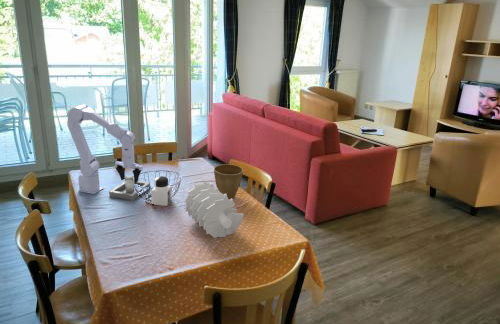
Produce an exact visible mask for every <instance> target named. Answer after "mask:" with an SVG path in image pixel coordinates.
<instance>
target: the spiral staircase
mask: <svg viewBox="0 0 500 324" xmlns="http://www.w3.org/2000/svg"><path fill="white" fill-rule="evenodd" d="M187 194H188V196H187V197H186V198H185V200H184V203H185V204H186V205H185V212H187V214H188V217H191V219H193V220H194V222H195V224H196V223H198V225H199V226H198V227H200V228H201V227H203V230H205V233H206V235H210V236H212V237H213V238H214V239H217V238H226V236H230V235H231V234H233V233H235V232H236V230H237V229H238V228H239V227H240V226H241V224H242V221H243V218H244V216H245V213H238V212H237V210H238V209H237V208H233V207H236V204H235V202H234V199H230V200H229V199H228V197H227V194H222V193H221V192H220V191H219V190H218V188H217V186H216V187H214V184H213V182H210V183H208V182H207V181H203V182H202V183H196V184H195V185H194V187H193V188H192V189H190V190H188V191H187Z"/></svg>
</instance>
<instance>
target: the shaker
mask: <svg viewBox="0 0 500 324" xmlns="http://www.w3.org/2000/svg"><path fill="white" fill-rule="evenodd" d="M124 182H125V188H126V193H133V192H135V189H134V186H133V184H134V175H125V179H124Z"/></svg>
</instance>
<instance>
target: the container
mask: <svg viewBox="0 0 500 324" xmlns="http://www.w3.org/2000/svg"><path fill="white" fill-rule="evenodd" d="M153 183H154V187H153V188H152V189H150V190H151V191H150V195H151V196H150V197H151V205H152V204H154V205H153V206H163V207H168V205H169V203H170V202H171V200H172V186H171V185H169V178H168V177H166V176H163V175H162V176H157V177H155V178H154V181H153Z"/></svg>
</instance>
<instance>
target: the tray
mask: <svg viewBox="0 0 500 324" xmlns="http://www.w3.org/2000/svg"><path fill="white" fill-rule="evenodd" d="M150 183H151V182H146V181H140V180H138V182H136V183H135V182H134V184H138V185H140V186H142V187H150V188H151V184H150ZM141 191H142V189H141V188H139V192H141ZM108 194H109V198H114V199H119V200H123V201H128V202H129V201H130V202H134V201H135V200H136V199H138V198H139V197H140V196H138V194H137V192H136V191H135V192H133V193H126V188H125V181H123V182H122V183H119V185H117V186H115V187H114V188H112V189H111V190H109V192H108Z"/></svg>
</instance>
